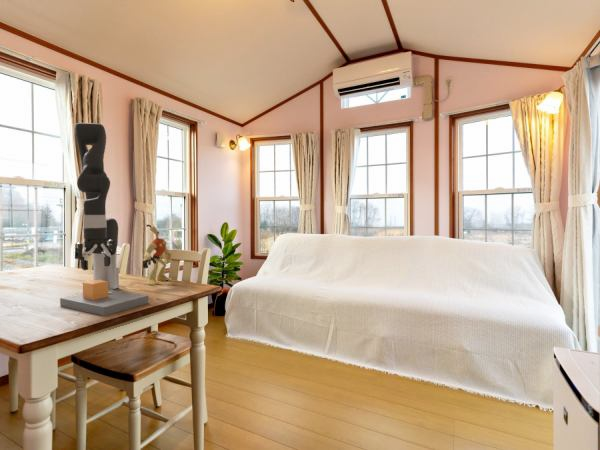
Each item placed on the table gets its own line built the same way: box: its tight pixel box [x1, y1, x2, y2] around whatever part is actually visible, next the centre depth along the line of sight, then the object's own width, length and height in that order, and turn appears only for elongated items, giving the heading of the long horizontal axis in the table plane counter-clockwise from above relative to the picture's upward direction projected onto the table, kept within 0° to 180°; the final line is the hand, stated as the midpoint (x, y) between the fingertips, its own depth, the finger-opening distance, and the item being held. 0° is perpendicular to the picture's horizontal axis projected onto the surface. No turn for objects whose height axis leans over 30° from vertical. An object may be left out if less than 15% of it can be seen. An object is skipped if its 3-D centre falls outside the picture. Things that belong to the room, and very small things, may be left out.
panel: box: [59, 289, 149, 317], centre depth 125 cm, size 18×26×4 cm
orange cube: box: [82, 279, 108, 300], centre depth 124 cm, size 6×6×6 cm
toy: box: [142, 224, 173, 286], centre depth 163 cm, size 23×9×30 cm, turn 171°
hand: (96, 268), depth 124 cm, fingers open, 8 cm apart
